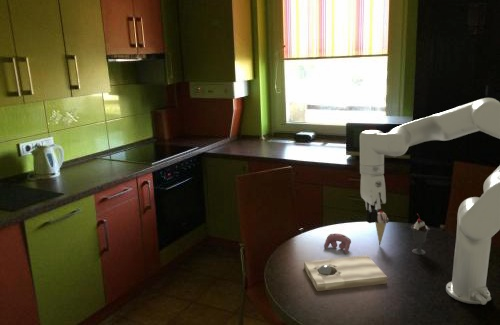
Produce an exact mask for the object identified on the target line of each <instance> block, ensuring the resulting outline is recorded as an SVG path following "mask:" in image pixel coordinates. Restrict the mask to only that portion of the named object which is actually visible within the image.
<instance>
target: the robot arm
mask: <svg viewBox="0 0 500 325" xmlns="http://www.w3.org/2000/svg"><path fill="white" fill-rule="evenodd" d="M476 132H482V133H485V134H487V135H489V136H492V137H494V138H497V139H499V140H500V101H499V100H497V99H496V98H493V97H484V98H480V99H477V100H474V101H471V102H468V103H465V104H462V105H459V106H456V107H454V108H451V109H448V110H445V111H442V112H439V113H435V114H432V115H429V116H426V117H422V118H419V119H415V120H413V121H410V122H407V123H404V124H401V125H399V126H396V127H394V128H392V129H390V130H389V131H388V132H386V133H384V132H383V131H381V130H377V129H369V130H364V131H362V132H360V133H359V174H360V186H359V187H360V188H359V189H360V190H359V191H360V197H361V199H363V201H364V202H365V209H366V210H365V212H366V215H365V217H366V218H365V219H366V222H367V223H369V224H374V223H375V222H377V221H378V212H379V211H380V210H381V209H382V207H381V204H383V205H385V204H386V203H387V196H386V192H387V190H386V182H385V180H386V179H385V176H384V174H385V156H390V157H400V156H403V155H405V154H406V153H407V151H408V150H409V147H412V146H415V145H418V144H422V143H424V142H430V141H443V142H445V141H446V142H447V141H450V140H451V141H452V140H453V139H457V138H461V137H463V136H466V135H468V134H469V135H470V134H473V133H476ZM482 189H483V193H482V194H481V196H480V197H478V196H473V197H472V196H471V197H468V198H466V199H464V200H463V201H462V202H461V203H460V205H459V207H458V211H457V218H456V220H457V224H456V235H455V236H456V238H455V248H454V256H453V267H452V268H453V269H452V275H451V276H452V278H451V279H452V280H451V281H449V282H448V283H447V284H446V285H445V291H446V293H447V294H448V295H449V296H450V297H451V298H452V299H455V300H457V301H459V302H462V303H466V304H469V305H470V304H471V305H486V304H487V303H488V302H490V301H491V300H492V297H491V293H490V290H488V286H487V277H488V268H489V260H490V253H491V244H492V238H493V237H494V236H495V234H497V233H498V232H499V231H500V165H499V166H497V168H496V169H495V170H493V172H492V173H491V174H490V175H489V176H488V177H487V178H486V179H485V181H484V182H483V188H482Z"/></svg>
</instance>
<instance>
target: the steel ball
mask: <svg viewBox="0 0 500 325" xmlns="http://www.w3.org/2000/svg"><path fill="white" fill-rule="evenodd" d="M319 273H320V274H323V275H327V276H328V275H333V274H332V270H331V268H330V267H329V266H327V265H323V266H321V267H320V268H319Z"/></svg>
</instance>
